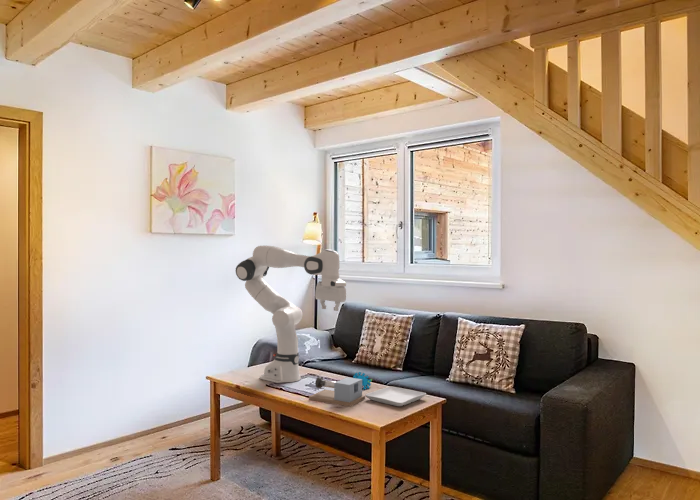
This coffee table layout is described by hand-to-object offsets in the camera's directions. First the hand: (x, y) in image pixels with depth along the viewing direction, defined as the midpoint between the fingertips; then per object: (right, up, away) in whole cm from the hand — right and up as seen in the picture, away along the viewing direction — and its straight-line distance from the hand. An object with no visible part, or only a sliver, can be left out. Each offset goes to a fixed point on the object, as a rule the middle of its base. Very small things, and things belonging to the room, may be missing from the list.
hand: (329, 309), depth 263 cm
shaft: (+1, -36, -15) cm, 39 cm away
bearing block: (+4, -40, -17) cm, 43 cm away
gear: (+17, -40, +4) cm, 44 cm away
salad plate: (+31, -41, -17) cm, 54 cm away
